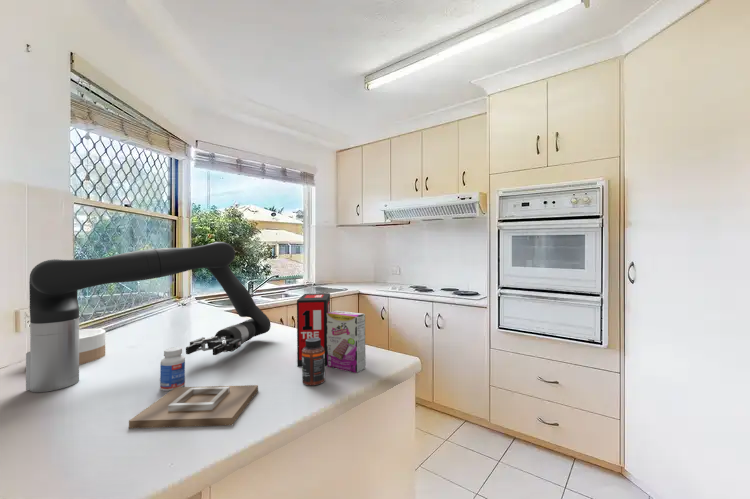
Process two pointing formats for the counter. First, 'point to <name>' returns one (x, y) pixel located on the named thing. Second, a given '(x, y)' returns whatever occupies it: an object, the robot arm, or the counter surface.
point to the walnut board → (196, 407)
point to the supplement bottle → (313, 362)
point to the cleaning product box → (312, 321)
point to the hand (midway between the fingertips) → (200, 351)
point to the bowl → (91, 345)
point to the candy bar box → (346, 341)
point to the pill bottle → (172, 369)
